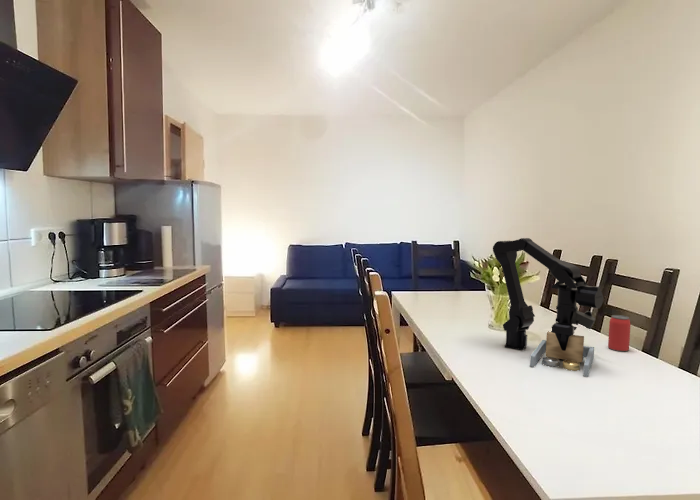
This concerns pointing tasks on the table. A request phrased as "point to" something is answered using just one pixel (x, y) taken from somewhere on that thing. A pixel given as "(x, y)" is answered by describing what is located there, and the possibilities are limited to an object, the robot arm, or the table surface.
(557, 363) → the gunmetal token
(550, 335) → the wooden plank block
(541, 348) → the cubby
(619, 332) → the beer can
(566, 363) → the brass token
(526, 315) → the robot arm
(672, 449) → the table surface
